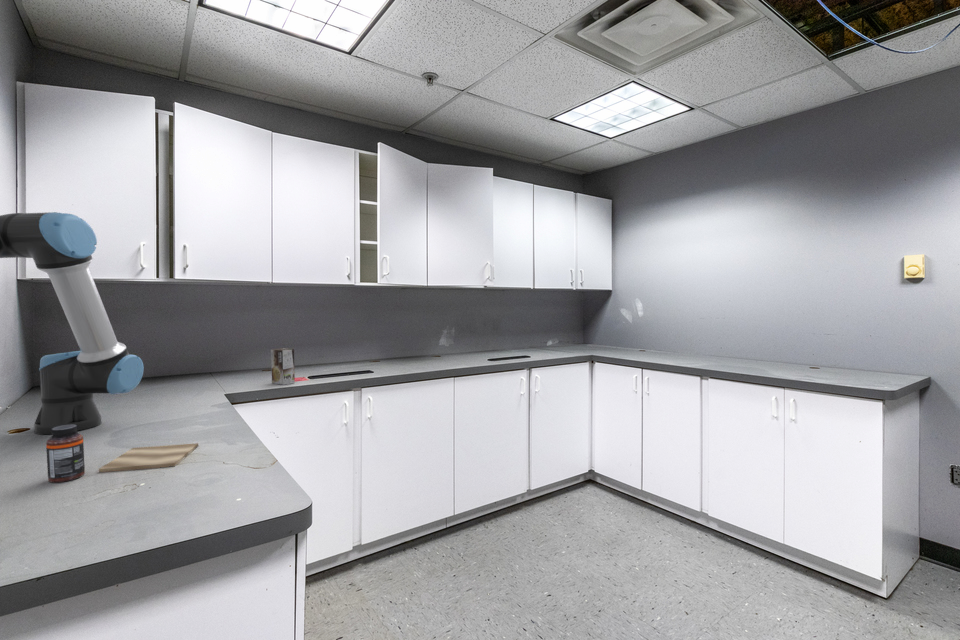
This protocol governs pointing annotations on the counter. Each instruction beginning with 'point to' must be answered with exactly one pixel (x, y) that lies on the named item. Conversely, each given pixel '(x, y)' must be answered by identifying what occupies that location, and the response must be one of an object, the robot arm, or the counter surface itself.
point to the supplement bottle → (65, 454)
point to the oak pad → (149, 457)
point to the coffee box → (282, 366)
